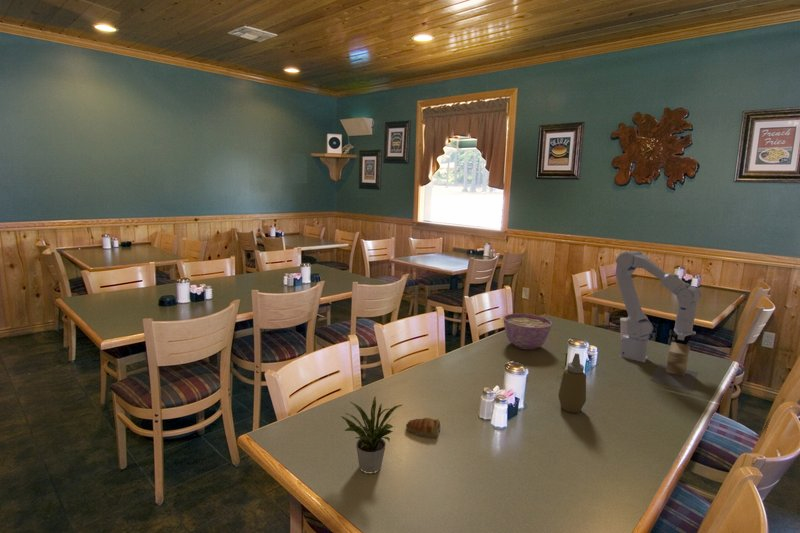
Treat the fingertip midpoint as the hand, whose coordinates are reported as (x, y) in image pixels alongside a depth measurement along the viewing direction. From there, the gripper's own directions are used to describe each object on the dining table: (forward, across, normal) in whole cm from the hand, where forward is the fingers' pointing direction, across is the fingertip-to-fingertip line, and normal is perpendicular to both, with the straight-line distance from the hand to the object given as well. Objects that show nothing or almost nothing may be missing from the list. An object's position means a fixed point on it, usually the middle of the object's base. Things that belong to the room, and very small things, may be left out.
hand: (679, 353), depth 172 cm
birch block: (+6, -1, 0) cm, 6 cm away
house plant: (+7, -118, +53) cm, 129 cm away
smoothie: (+8, +27, +23) cm, 36 cm away
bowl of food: (+8, -13, +55) cm, 57 cm away
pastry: (+8, -97, +51) cm, 110 cm away
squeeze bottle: (+8, -57, +23) cm, 62 cm away
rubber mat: (+8, -6, 0) cm, 10 cm away
